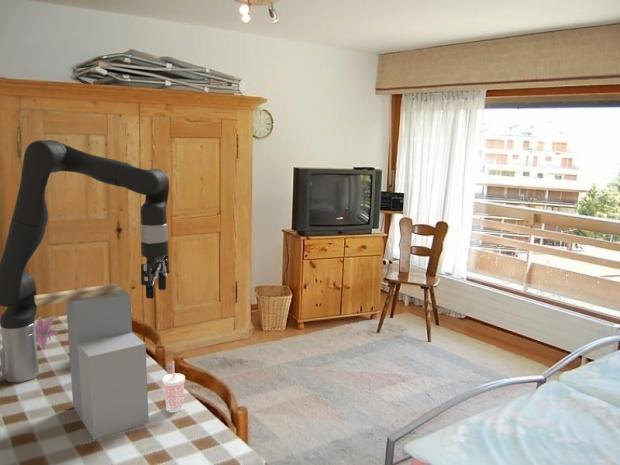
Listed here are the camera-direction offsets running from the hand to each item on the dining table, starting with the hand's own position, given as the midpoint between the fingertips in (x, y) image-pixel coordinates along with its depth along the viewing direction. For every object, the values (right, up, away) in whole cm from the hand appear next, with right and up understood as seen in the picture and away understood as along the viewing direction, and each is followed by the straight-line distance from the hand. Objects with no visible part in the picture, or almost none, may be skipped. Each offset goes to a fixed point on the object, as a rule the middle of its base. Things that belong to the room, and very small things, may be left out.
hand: (156, 293), depth 155 cm
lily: (-52, -23, +36) cm, 67 cm away
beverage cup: (+7, -31, -7) cm, 33 cm away
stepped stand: (-10, -32, -11) cm, 35 cm away
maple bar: (-16, +1, -16) cm, 22 cm away
